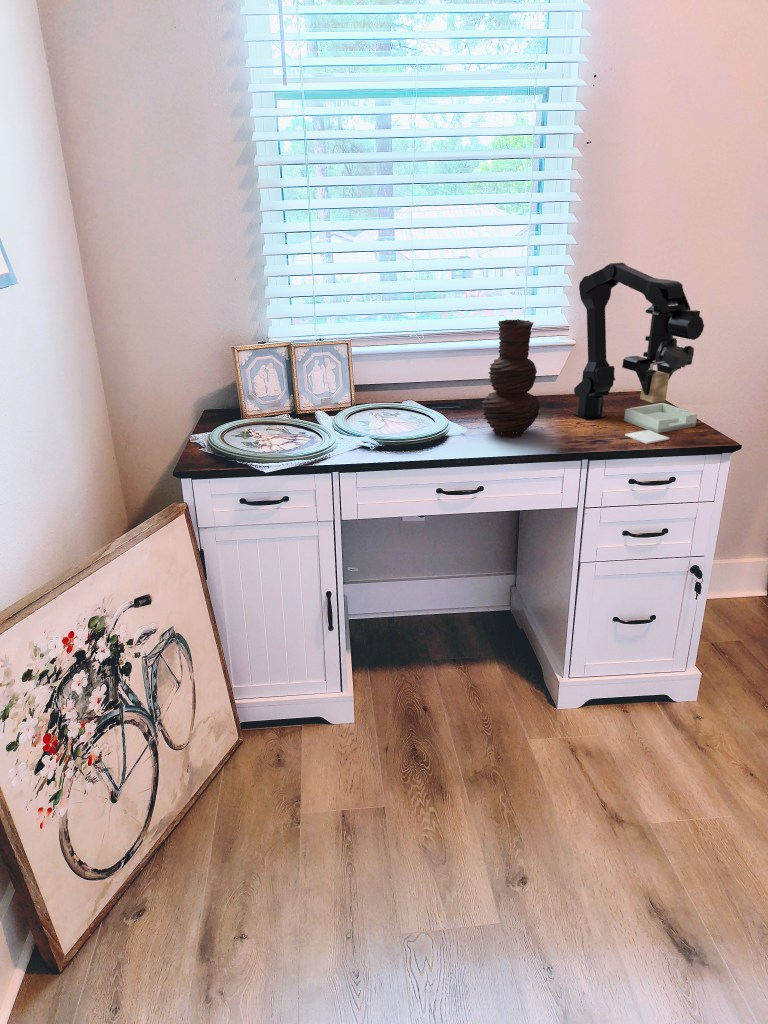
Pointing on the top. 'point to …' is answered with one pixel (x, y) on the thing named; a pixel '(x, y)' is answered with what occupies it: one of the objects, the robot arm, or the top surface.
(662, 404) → the pale green shallow tray
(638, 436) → the pad
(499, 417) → the vase
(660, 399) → the oak block
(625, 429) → the top surface
